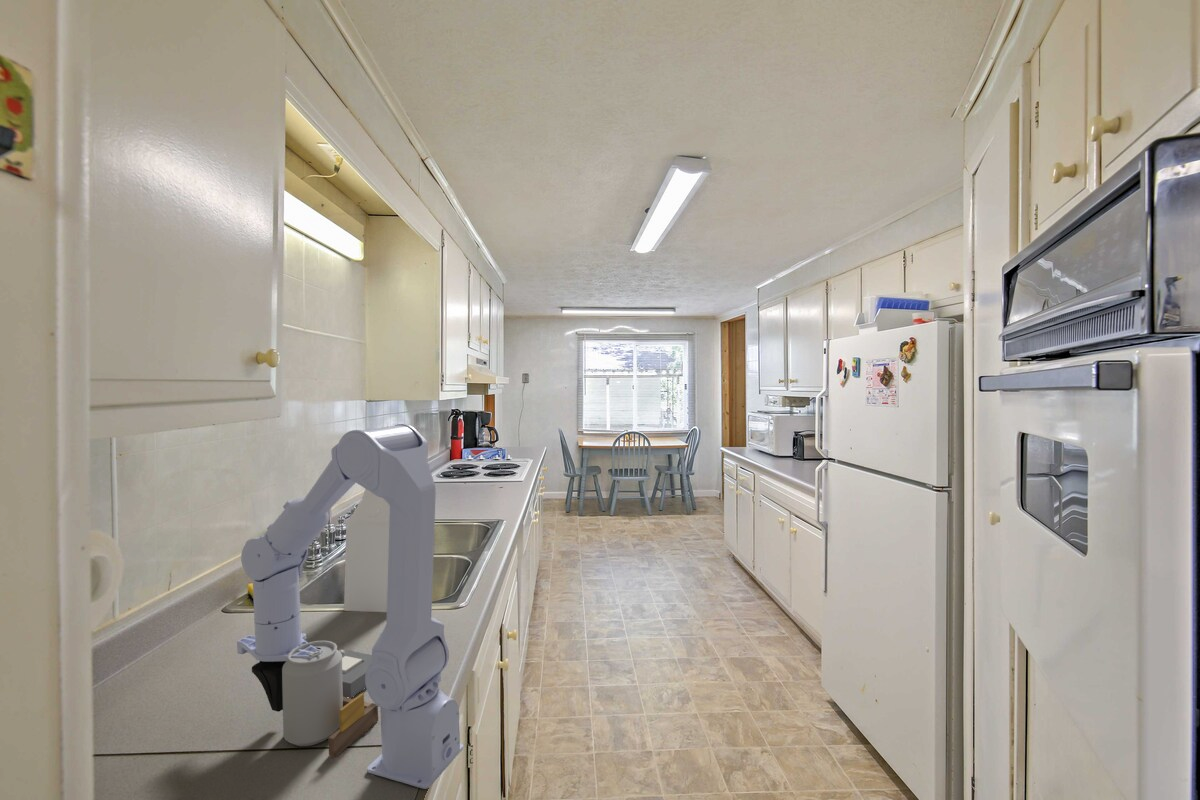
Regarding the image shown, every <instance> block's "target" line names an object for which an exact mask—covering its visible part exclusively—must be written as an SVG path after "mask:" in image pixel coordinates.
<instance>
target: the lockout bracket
mask: <svg viewBox="0 0 1200 800" xmlns="http://www.w3.org/2000/svg"><path fill="white" fill-rule="evenodd" d="M339 715H340V727H339V728H338V729H337V730H336V731H335V732H334V734H332V735H331V736H330V737H328V739H327V740H328V757H332V758H336V757H337V756H338V755H341V753H342V752H343V751H345V749H347V748H348V747H350V745H352V744H353V743H354V742H355V741H356V740H358V739H359V738H360V737H361V736H362V735H363V734H364V733H366V732H367V731H369V729H371V726H372V727H373V726H374V725H376V724H377V723H378V722H379V707H378V706H376V704H375V703H374V702H373V703H371V702H367V701H365V694H364V693H361V692H360V693H359V694H358V695H356V696H355V697H354V698H352V699H351V698H347V697H343V708H341V709H340V710H339ZM377 721H378V722H377Z"/></svg>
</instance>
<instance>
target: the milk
mask: <svg viewBox="0 0 1200 800" xmlns="http://www.w3.org/2000/svg"><path fill="white" fill-rule="evenodd" d="M389 517H390V505H389V504H388V503H387V502H386V501H385V500H384V499H383V498H382V497H378V496H376V495H375V494H373V493H372V492H370V491H368V490H367V489H365V488H364V492H363V495H362V497H361V500H360V501H359V503H358V504H357V506H356V508H355V509H354V511H353V513H352V515H351V516H350V518H349V520H348V521H347V524H346V527H345V528H346V529H345V557H344V558H345V559H344V560H345V561H344V593H343V594H344V597H343V611H344V612H368V613H369V612H371V613H374V612H377V613H387V586H388V552H389Z"/></svg>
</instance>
